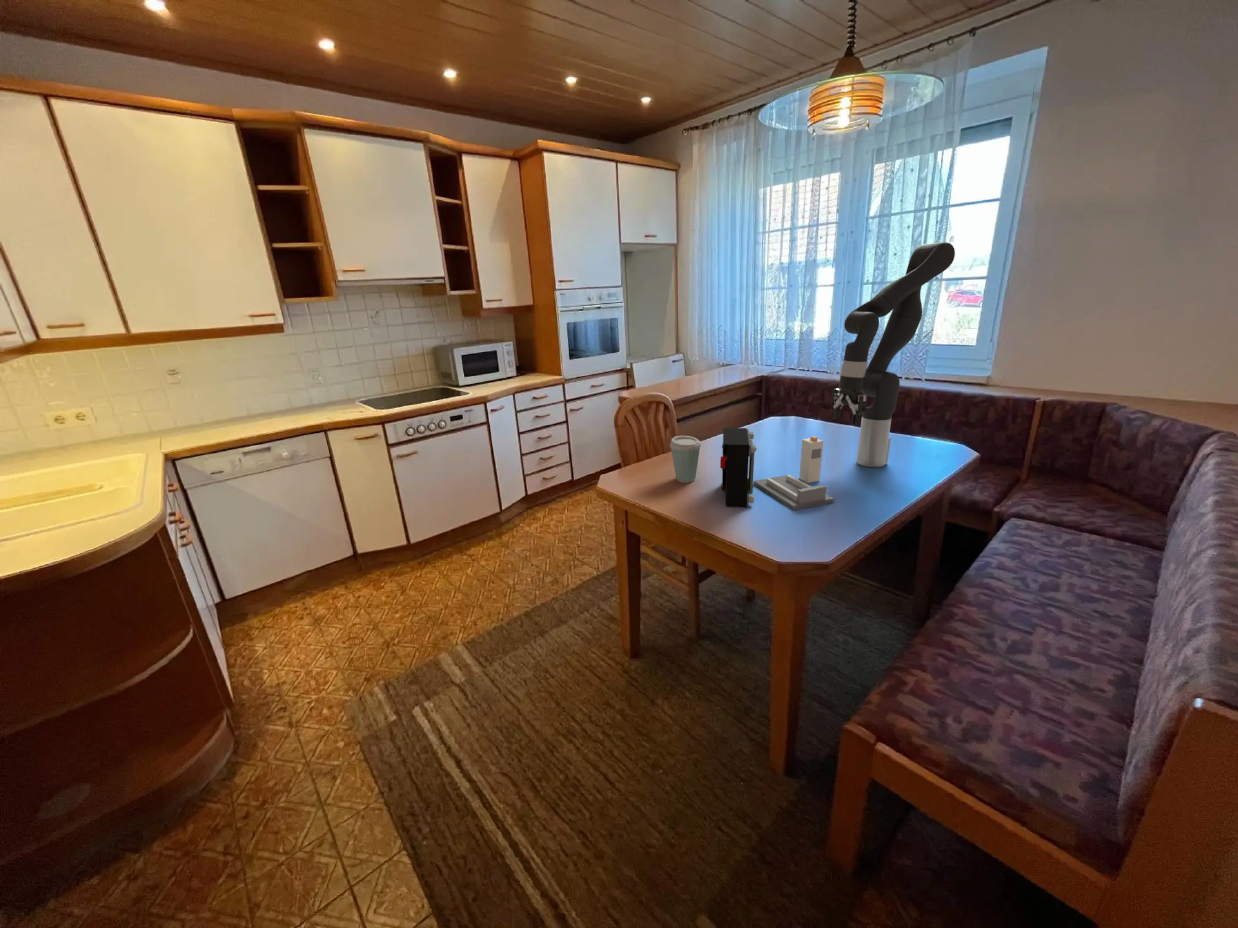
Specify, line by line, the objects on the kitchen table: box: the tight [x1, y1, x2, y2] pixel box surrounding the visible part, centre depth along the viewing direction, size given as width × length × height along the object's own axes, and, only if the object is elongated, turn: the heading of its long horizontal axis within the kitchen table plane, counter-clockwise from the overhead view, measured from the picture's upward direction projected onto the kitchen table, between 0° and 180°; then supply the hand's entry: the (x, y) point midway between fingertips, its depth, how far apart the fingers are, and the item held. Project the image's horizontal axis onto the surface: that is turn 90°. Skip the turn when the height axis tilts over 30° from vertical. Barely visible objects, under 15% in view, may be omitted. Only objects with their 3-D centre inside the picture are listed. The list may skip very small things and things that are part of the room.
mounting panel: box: [753, 474, 835, 511], centre depth 156 cm, size 14×22×5 cm, turn 17°
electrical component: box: [719, 427, 757, 509], centre depth 154 cm, size 18×10×20 cm, turn 168°
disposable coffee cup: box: [669, 435, 701, 484], centre depth 169 cm, size 11×11×15 cm
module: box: [798, 435, 824, 484], centre depth 164 cm, size 5×5×15 cm
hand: (845, 422), depth 168 cm, fingers open, 8 cm apart
